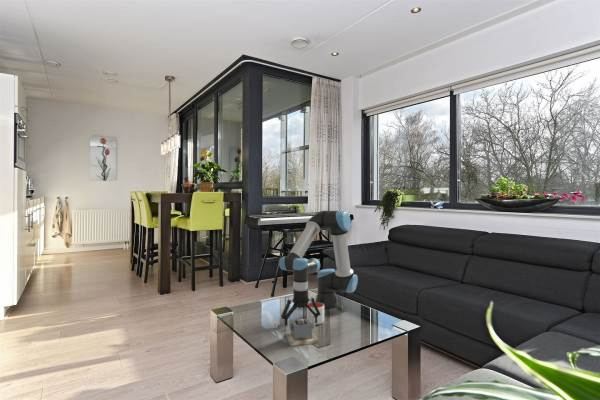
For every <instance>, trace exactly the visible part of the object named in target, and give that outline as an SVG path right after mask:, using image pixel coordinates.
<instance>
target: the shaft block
mask: <svg viewBox="0 0 600 400" xmlns="http://www.w3.org/2000/svg"><path fill="white" fill-rule="evenodd" d="M298 319H299V320H298V325H299V324H304V320H303V319H304V318H298ZM284 336H285V337H286V340H287V342H288V344H289V346H290V347H292V346H303V345H310V344H311V345H312V344H313V345H314V344H319V339H318V338H317V336H316V334H315V333H314V331H312V339H303V340H294V339H293V337H292V335H291V330H289V333H288V332H287V331H284Z"/></svg>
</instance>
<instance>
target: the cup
mask: <svg viewBox="0 0 600 400" xmlns="http://www.w3.org/2000/svg"><path fill="white" fill-rule="evenodd" d="M307 304H308V305H309V307H310V308H311V309H312V310H313V311H314V312H315V313H317V312H316V310H315V308H314V306H313V304H312V302H308V303H307ZM315 304H316V306H317V308H318V310H319V312H320V314H321V315H319V316H318V317H317V323H315V326H316V325H317V326H318V325H322V324H323V323H324V322H325V308H324V304H322V303H318V302H315ZM312 316H314V315H313V314H312V313H311V311H310V310H309V309H308V308H307V307H306V318H307V319H308V320H309V322H310V323H311V324H312Z"/></svg>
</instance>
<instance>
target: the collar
mask: <svg viewBox="0 0 600 400" xmlns="http://www.w3.org/2000/svg"><path fill="white" fill-rule="evenodd" d="M299 319H300V318H298V319H297V318H296V319H289V330H290V331H291V335H292V337H293V339H294V340H303V339H312V332H313V328H312V324H311V323H310V322H309V320H308V319H307V317H306V318H302V319H303V320H304V324H299V325H298V320H299Z"/></svg>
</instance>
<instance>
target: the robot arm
mask: <svg viewBox="0 0 600 400" xmlns="http://www.w3.org/2000/svg"><path fill="white" fill-rule="evenodd" d="M351 221H352V220H351V216H350V215H349V213H348V212H346V211H343V210H320V211H318V212H316V213H315V214H313V215H312V216H311V217H310V218H309V219H308V221H307V222H306V224H305V228H304V230H303V231H302V233H301V234H300V236H299V237H298V238H297V241H295V244H294V245H293V247H292V248H291V250H290V252H289V253H288V254H287V256H286V255H285V256H282V257H280V259H279V263H278V267H279V269H281V270H283V271H286V272H292V273H293V274H292V277H293V280H292V281H293V282H292V283H293V286H292V287H293V291H292V292H293V294H292V295H293V298H292V299H289V298H287V300H286V303H285V306H284V309H283V311H282V313H281V314H280V317H281V319H282V320H284V326H285V327H286V332H288V333H289V331H290V319H289V318H290V317H291V315H292V314H293V313H294V311H296V310H297V309H302V308H304V309H305V307H306V309H307V308H308V309H309V310H310V311H311V313H312V314H313V315H314V316H312V331H316V325H315V323H317V317H318V316H319V315H321V314H320V312H319V310H318V308H317V306H316V304H315V302H318V303H322V304H324V309H330V308H331V309H333V308H336V307H338V306H339V301H338V300H339V299H338V298H337V294H336V292H337V291H338V292H343V293H350V294H351V293H352V294H353V293H354V292H355V290H356V289H357V286H358V281H359V277H358V275H357V274H354V269H352V268H351V263H350V255H349V247H348V240H347V234H348V232H349V230H350V229H351V226H352V225H351V224H352V222H351ZM323 230H327V231H328V234H329V235H330V236H332V237H331V238H332V244H333V251H334V258H335V259H334V260H335V266H336V268H335V269H334V268H325V269H321V270H320V268H321V263H320V261H319V259H318V258H314V257H312V258H305V257H304V255H305V254H306V252H307V251H308V249H309V247H310V246H311V244H312V242H313V241H314V239H315V237H316V235H318V234H319V233H320V232H321V231H323ZM316 273H317V277H316V279H317V280H316V281H317V294H316V296H315V298H314V297H313V296H311V297H309V276H310V275H313V274H316ZM292 303H293V305H292V306H291V304H292ZM308 303H312V304H313V306H314V308H315V310H316V312H317V313H315V312H314V311H313V310H312V309H311V308H310V307H309V305H308ZM290 306H291V307H290ZM289 308H290V309H289Z"/></svg>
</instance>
